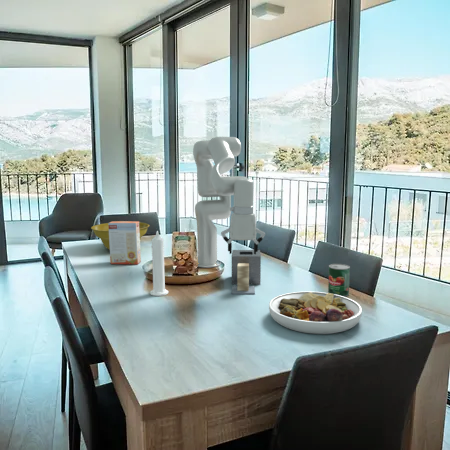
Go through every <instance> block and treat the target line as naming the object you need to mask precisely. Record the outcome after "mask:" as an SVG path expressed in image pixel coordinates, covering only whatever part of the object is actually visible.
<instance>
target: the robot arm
mask: <svg viewBox="0 0 450 450" xmlns="http://www.w3.org/2000/svg"><path fill="white" fill-rule="evenodd" d="M192 150H193V151H192V154H193V159H194V162H195V164H196V165H195V166H196V171H197V172H196V174H197V175H196V178H197V179H196V180H197V181H196V182H197V193H198V195H199V196H200V197H201V198H219V199H204V200H199V201H197V203H196V204H195V206H194V213H195V219H196V231H197V232H196V235H197V243H196V244H197V254H198V263H199V264H198V266H197V267H198V268H205V269H206V268H207V269H208V268H217V267H219V266H220V265H221V263H220V264H218V265H216V264H215V263H216V261H217V260H218V231H217V230H218V229H217V226H216V225H215V224H214V222H213V221H214V220H215V221H216V220H225V219H228V218H229V217H230V223H229V228H226V229H225V230H222V231H221V233H220V235H221V236H222V238H223V240H224V241H225V242H226V244H227V251H228V252H229V255H232V250H233V249H232V248H233V247H232V246H233V245H232V242H233V241H253V242H254V244H253V250H254V254H256V252H258V250H259V244H260V243H261V242H262V241H263V240H264V237H265V236H266V232H264V231H262V229H259V228H257V220H256V214H255V213H254V180H253V179H251V178H249V177H247V176H242V175H239V176H238V175H237V176H235V175H233V176H222V175H223V174H226V173H227V172H230V171H231V170H232V169H233V168H234V166H235V164H236V159H235V158H236V157H238V156H239V155H240V154H241V152H242V143H241V141H240V139H239V138H237V137H235V136H214V137H213V138H212V137H211V138H210V139H207V140H204V139H203V140H199V141H196V142H195V143H194V145H193V149H192ZM212 161H213V162H212ZM232 196H233V206H232ZM232 212H233V213H232ZM227 234H229V237H227ZM257 234H259V235H260V236H259V237H258V238H257Z"/></svg>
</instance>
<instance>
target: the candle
mask: <svg viewBox="0 0 450 450" xmlns="http://www.w3.org/2000/svg"><path fill="white" fill-rule="evenodd" d="M159 233H160V232H159V230H156V233H155V235H154V237H153V238H152V239H151V257H152V259H151V260H152V261H151V262H152V288H153V289H152V290H150V291H149V294H150V295H151V296H153V297H164V296H167V295H168V294H169V290H167V289H166V284H165V283H166V282H165V281H166V280H165V278H166V277H165V250H164V249H165V248H164V246H165V245H164V241H165V240H164V238H163V237H162V236H160V234H159Z"/></svg>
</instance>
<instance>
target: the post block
mask: <svg viewBox="0 0 450 450" xmlns="http://www.w3.org/2000/svg"><path fill="white" fill-rule="evenodd" d="M261 259H262V257H261V249H258V252H256V254H254V249H232V253H231V285H237V266H238V263H249V285H260V286H261V280H262V279H261V272H262V270H261V269H262V267H261V264H262V263H261Z"/></svg>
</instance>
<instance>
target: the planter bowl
mask: <svg viewBox="0 0 450 450" xmlns="http://www.w3.org/2000/svg"><path fill="white" fill-rule="evenodd" d="M108 223H109V222H106V223H105V222H104V223H100V224H96V225H93V226H91V227H90V229H91V230H92V231H93V233H94V235H95V236H96V237H97V238H99V239H100V241H101V242H102V244H103V245H104V247H105V248H106V249H107V250H109V251H110V245H109V225H108ZM149 227H150V224H148V223H146V222H141V221H139V231H140V241H141V239H142V237H143V236H145V234H146V233H147V232H148V228H149Z"/></svg>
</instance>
